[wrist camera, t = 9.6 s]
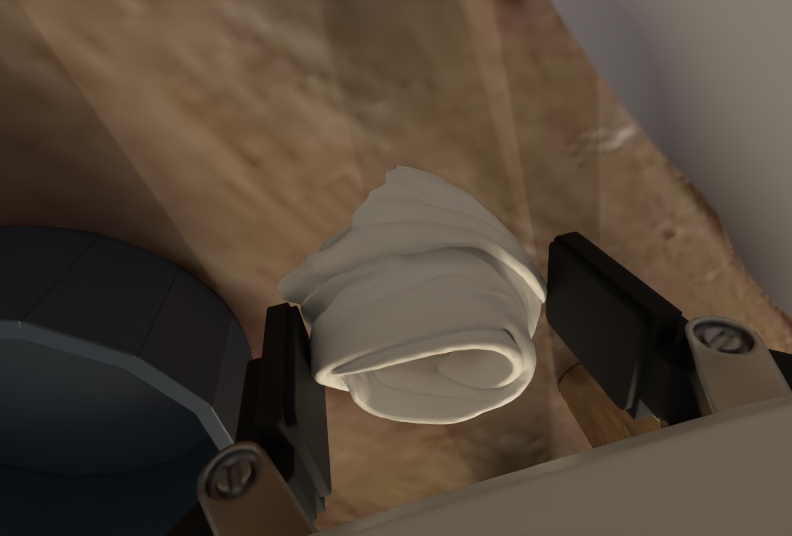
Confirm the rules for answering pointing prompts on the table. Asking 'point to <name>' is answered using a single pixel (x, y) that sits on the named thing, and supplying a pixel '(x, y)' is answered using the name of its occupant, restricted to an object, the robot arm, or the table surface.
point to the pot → (108, 385)
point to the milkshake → (599, 410)
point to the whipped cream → (421, 304)
